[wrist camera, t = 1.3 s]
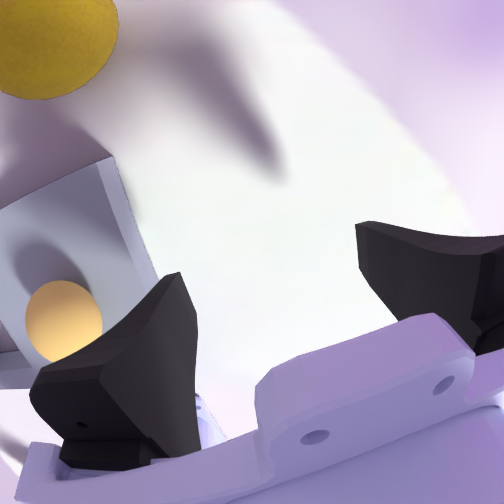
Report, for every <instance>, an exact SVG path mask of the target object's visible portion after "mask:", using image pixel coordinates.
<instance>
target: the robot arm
mask: <svg viewBox="0 0 504 504" xmlns="http://www.w3.org/2000/svg"><path fill="white" fill-rule="evenodd" d="M355 228H356V238H357V249H358V261H359V269H360V271H361V272H362V274H363V276H364V278H365V279H366V281H367V282H368V284H369V286H370V287H371V288H372V289H373V291H374V292H375V293H376V294H377V295H378V297H379V298H380V299H381V300H382V301H383V303H384V304H385V305H386V306H387V308H388V309H389V310H390V311H391V312H392V314H393V315H394V316H395V317H396V319H397V320H398V321H399V322H396V323H394V324H391V325H389V326H386V327H383V328H381V329H378V330H375V331H373V332H370V333H367V334H364V335H361V336H359V337H356V338H353V339H350V340H347V341H344V342H341V343H338V344H335V345H332V346H328V347H325V348H322V349H319V350H316V351H312V352H309V353H306V354H302V355H299V356H297V357H294V358H292V359H290V360H288V361H286V362H284V363H282V364H280V365H278V366H276V367H273V368H272V369H271V370H270V371H269V372H268V373H267V374H266V375H265V376H264V378H263V379H262V380H261V381H260V382H259V383H258V384H257V385H256V386H255V402H254V404H255V410H256V416H257V422H258V429H256V430H254V431H251V432H249V433H246V434H244V435H241V436H239V437H236V438H234V439H231V440H227V438H226V437H225V435H224V434H223V432H222V431H221V429H220V428H219V426H218V425H217V423H216V422H215V420H214V418H213V417H212V415H211V414H210V412H209V410H208V409H207V407H206V406H205V404H204V402H203V401H202V399H201V398H199V397H196V396H195V367H196V353H197V340H198V326H197V313H196V310H195V308H194V306H193V303H192V301H191V298H190V296H189V293H188V291H187V288H186V286H185V283H184V281H183V278H182V276H181V273H180V272H176V273H173V274H169V275H166V276H164V277H163V278H162V279H161V280H160V281H159V282H158V283H157V284H156V285H155V286H154V287H153V288H152V289H151V290H150V291H149V292H148V294H147V295H146V296H145V297H144V298H143V299H142V300H141V301H140V302H139V303H138V304H137V305H136V306H135V307H134V308H133V309H132V310H131V311H130V312H129V313H128V314H127V315H126V316H125V317H124V318H123V319H122V320H120V321H119V322H118V323H117V324H116V325H114V326H113V327H112V328H111V329H110V330H108V331H107V332H106V333H104V334H103V335H101V336H100V337H98V338H97V339H95V340H94V341H93V342H91V343H90V344H88V345H86V346H85V347H83V348H81V349H80V350H78V351H76V352H74V353H72V354H70V355H68V356H66V357H64V358H62V359H60V360H58V361H55V362H53V363H51V364H49V365H46V366H44V367H42V368H41V369H40V371H39V373H38V375H37V377H36V379H35V381H34V383H33V385H32V387H31V389H30V393H29V397H30V402H31V404H32V405H33V407H34V409H35V411H36V412H37V413H38V414H39V416H40V417H41V418H42V419H43V420H44V421H45V422H46V423H47V424H48V425H49V426H50V427H51V428H52V429H53V430H54V431H55V432H56V433H57V434H58V435H59V436H61V437H62V438H63V439H64V442H63V445H62V447H60V446H58V445H56V444H52V443H42V442H31V444H30V447H29V450H28V453H27V456H26V459H25V462H24V465H23V468H22V472H21V475H20V479H19V482H18V486H17V490H16V493H15V497H14V498H15V500H16V501H17V502H19V503H21V504H504V235H499V236H485V237H462V236H448V235H439V234H432V233H427V232H421V231H416V230H412V229H407V228H403V227H399V226H395V225H390V224H386V223H381V222H376V221H366V222H362V223H359V224H355Z"/></svg>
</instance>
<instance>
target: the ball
mask: <svg viewBox="0 0 504 504" xmlns="http://www.w3.org/2000/svg"><path fill="white" fill-rule="evenodd" d="M25 326H26V331H27V335H28V337H29V340H30V342H31V343H32V345H33V346H34V348H35V349H36V350H37V351H38V353H39V354H41V355H42V356H43V357H44V358H46V359H48V360H49V361H51V362H55V361H58V360H60V359H62V358H64V357H66V356H68V355H70V354H72V353H74V352H76V351H78V350H80V349H81V348H83V347H85V346H86V345H88V344H90V343H91V342H93V341H94V340H95V339H97V338H98V337H100V336H101V335H102V327H103V325H102V316H101V312H100V309H99V307H98V305H97V303H96V301H95V299H94V298H93V297H92V295H91V294H90V293H89V292H88V291H87V290H86V289H84V288H83V287H81V286H80V285H78V284H76V283H73V282H70V281H65V280H58V281H52V282H49V283H46V284H44V285H43V286H41V287H40V288H39V289H38V290H37V291H36V292H35V293H34V294H33V295H32V297H31V298H30V300H29V302H28V305H27V308H26V313H25Z"/></svg>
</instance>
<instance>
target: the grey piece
mask: <svg viewBox="0 0 504 504" xmlns="http://www.w3.org/2000/svg"><path fill="white" fill-rule="evenodd" d="M58 280H65V281H70V282H73V283H76V284H78V285H80V286H81V287H83V288H84V289H86V290H87V291H88V292H89V293H90V294H91V295H92V297H93V298H94V299H95V301H96V303H97V305H98V307H99V309H100V312H101V316H102V325H103V327H102V335H103V334H104V333H106V332H107V331H108V330H110V329H111V328H112V327H113V326H114V325H116V324H117V323H118V322H119V321H120V320H122V319H123V318H124V317H125V316H126V315H127V314H128V313H129V312H130V311H131V310H132V309H133V308H134V307H135V306H136V305H137V304H138V303H139V302H140V301H141V300H142V299H143V298H144V297H145V296H146V295H147V294H148V292H149V291H150V290H151V289H152V288H153V287H154V286H155V285H156V284H157V283H158V282H159V279H158V277H157V275H156V272H155V270H154V267H153V265H152V262H151V260H150V258H149V255H148V253H147V250H146V248H145V245H144V243H143V240H142V237H141V235H140V232H139V230H138V227H137V224H136V222H135V219H134V216H133V213H132V211H131V208H130V205H129V202H128V199H127V196H126V194H125V191H124V188H123V185H122V182H121V179H120V176H119V173H118V170H117V167H116V163H115V160H114V157H113V156H111V157H108V158H106V159H103V160H101V161H98V162H96V163H93V164H91V165H88V166H86V167H84V168H82V169H79V170H77V171H75V172H73V173H70V174H68V175H66V176H64V177H62V178H60V179H58V180H55V181H53V182H51V183H49V184H47V185H45V186H43V187H41V188H39V189H37V190H35V191H33V192H32V193H30V194H28V195H26V196H24V197H22V198H20V199H18V200H17V201H15V202H13V203H11V204H9V205H8V206H6V207H4V208H2V209H1V210H0V320H1V322H2V324H3V325H4V327H5V329H6V330H7V332H8V333H9V335H10V336H11V338H12V339H13V341H14V342H15V344H16V345H17V347H18V348H19V350H18V351H11V352H5V353H0V389H30V388H31V387H32V385H33V383H34V381H35V379H36V377H37V375H38V373H39V371H40V369H41V368H42V367H44V366H46V365H49V364H51V363H53V362H51V361H49V360H48V359H46V358H44V357H43V356H42V355H41V354H39V353H38V351H37V350H36V349H35V348H34V346H33V345H32V343H31V342H30V340H29V337H28V335H27V331H26V326H25V313H26V308H27V305H28V302H29V300H30V298H31V297H32V295H33V294H34V293H35V292H36V291H37V290H38V289H39V288H40V287H41V286H43V285H44V284H46V283H49V282H52V281H58Z"/></svg>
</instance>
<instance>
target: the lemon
mask: <svg viewBox="0 0 504 504" xmlns="http://www.w3.org/2000/svg"><path fill="white" fill-rule="evenodd" d="M118 27H119V22H118V16H117V9H116V6H115V4H114V2H113V1H112V0H0V91H2V92H4V93H6V94H9V95H12V96H15V97H18V98H21V99H27V100H39V99H51V98H55V97H58V96H62V95H65V94H68V93H70V92H72V91H74V90H76V89H78V88H80V87H82V86H83V85H85V84H86V83H87V82H88V81H89V80H91V79H92V78H93V77H94V76H96V74H97V73H98V72H99V71H100V70H101V69H102V67H103V66H104V65H105V64H106V62H107V60H108V59H109V57H110V55H111V54H112V52H113V49H114V46H115V43H116V40H117V35H118Z"/></svg>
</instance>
